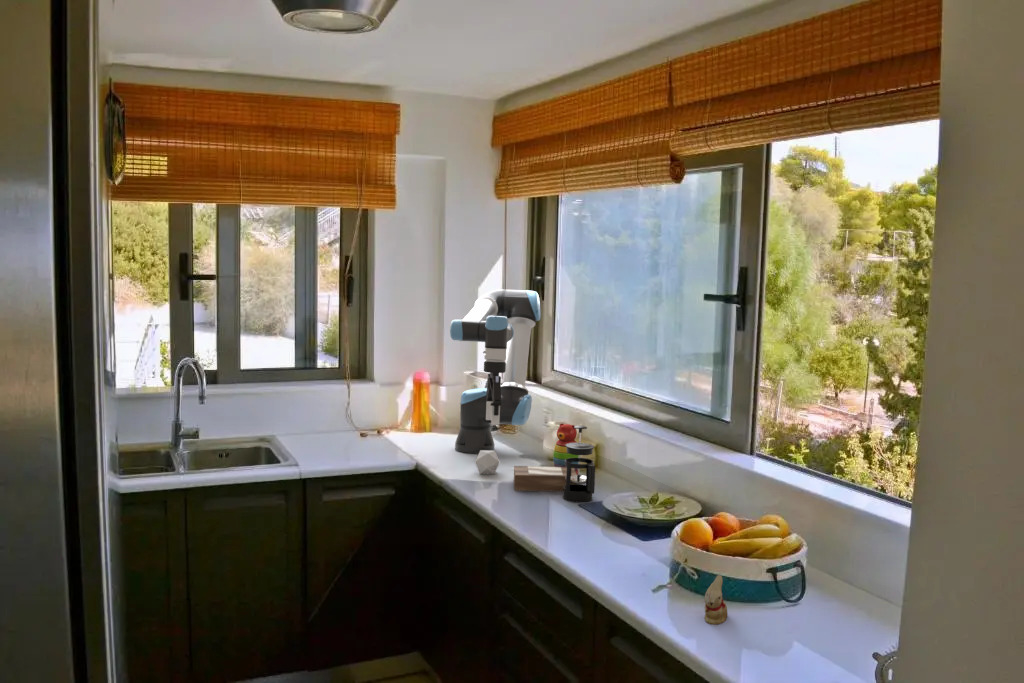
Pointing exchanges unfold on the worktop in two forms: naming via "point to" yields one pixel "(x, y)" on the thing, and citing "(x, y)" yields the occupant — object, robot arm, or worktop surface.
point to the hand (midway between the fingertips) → (492, 422)
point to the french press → (577, 490)
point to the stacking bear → (560, 451)
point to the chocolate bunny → (715, 603)
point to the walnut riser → (540, 478)
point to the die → (487, 462)
